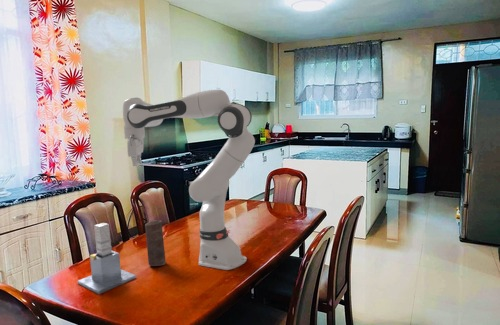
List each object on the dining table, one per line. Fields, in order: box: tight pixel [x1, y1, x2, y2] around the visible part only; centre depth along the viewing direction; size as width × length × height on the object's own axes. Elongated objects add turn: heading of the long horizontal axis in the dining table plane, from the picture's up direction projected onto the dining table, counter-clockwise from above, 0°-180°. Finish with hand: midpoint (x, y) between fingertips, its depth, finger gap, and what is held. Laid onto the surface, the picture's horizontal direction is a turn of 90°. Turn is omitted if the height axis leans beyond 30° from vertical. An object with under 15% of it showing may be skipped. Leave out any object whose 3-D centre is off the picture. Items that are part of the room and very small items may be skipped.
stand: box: [77, 249, 137, 295], centre depth 141 cm, size 16×16×12 cm
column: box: [93, 222, 113, 258], centre depth 140 cm, size 4×4×22 cm
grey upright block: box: [144, 219, 167, 267], centre depth 154 cm, size 8×7×20 cm
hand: (136, 164), depth 161 cm, fingers open, 8 cm apart
